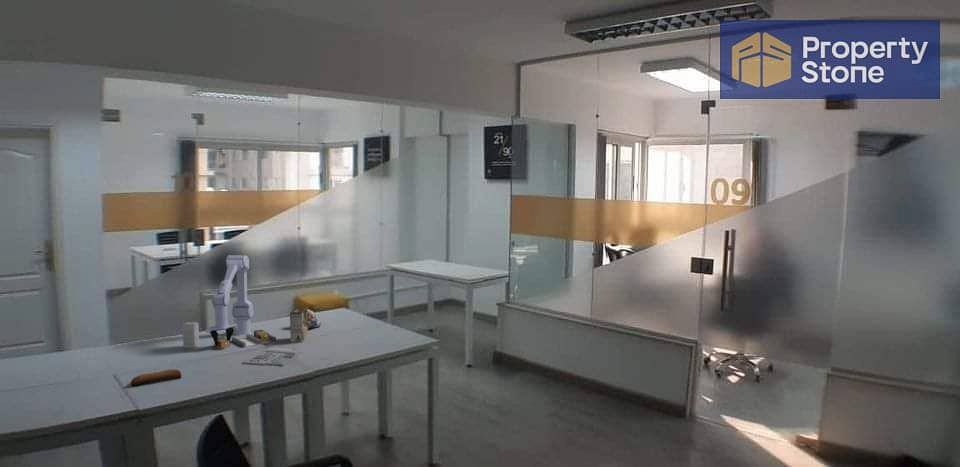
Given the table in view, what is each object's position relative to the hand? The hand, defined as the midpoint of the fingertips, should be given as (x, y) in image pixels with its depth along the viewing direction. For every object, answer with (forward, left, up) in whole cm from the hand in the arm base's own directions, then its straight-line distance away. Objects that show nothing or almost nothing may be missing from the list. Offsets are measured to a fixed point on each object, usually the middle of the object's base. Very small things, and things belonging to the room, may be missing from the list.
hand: (222, 344), depth 281 cm
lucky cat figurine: (-6, +50, -2) cm, 50 cm away
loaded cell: (+2, +19, -1) cm, 19 cm away
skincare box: (-11, -11, -2) cm, 16 cm away
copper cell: (0, 0, -2) cm, 2 cm away
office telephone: (+34, +12, -2) cm, 36 cm away
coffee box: (+16, +33, -2) cm, 37 cm away
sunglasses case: (+29, -38, -2) cm, 48 cm away
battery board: (+2, +15, -1) cm, 15 cm away
